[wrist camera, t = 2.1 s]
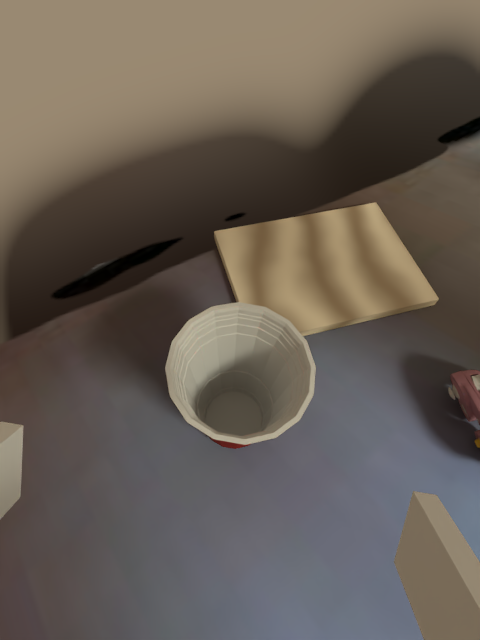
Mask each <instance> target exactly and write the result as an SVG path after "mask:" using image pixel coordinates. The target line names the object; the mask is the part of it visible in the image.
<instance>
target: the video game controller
mask: <svg viewBox="0 0 480 640" xmlns="http://www.w3.org/2000/svg"><path fill="white" fill-rule="evenodd" d="M450 378H451V381H452V385H453V387H452V390H451V388H450V387H449V389H448V392H449V395H450V397H452V398H453V399H454V400H455V396H456V397H457V398H458V400H459V403H460V406H461V408H462V411H463V413H464V415H465V417H466V418H467V420H468V421H469V422H471V421H474V420H477V421H478V423H479V425H480V371H477V370H465V371H459V372H456V373H453V374H451V375H450ZM475 436H476V439H477V440H475V444H476V446H477V447H478V448H480V430H477V431H475Z"/></svg>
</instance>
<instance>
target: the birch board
mask: <svg viewBox="0 0 480 640" xmlns="http://www.w3.org/2000/svg"><path fill="white" fill-rule="evenodd" d="M214 239H215V242H216V245H217V248H218V251H219V253H220V256H221V259H222V262H223V265H224V268H225V271H226V273H227V276H228V279H229V282H230V285H231V288H232V291H233V293H234V296H235V299H236V302H241V303H246V304H252V305H257V306H263V307H266V308H268V309H270V310H272V311H273V312H275V313H277V314H279V315H281V316H282V317H284V318H286V319H288V320H289V321H290V322H291V323H292V324H293V325H294V327H295V328H296V329H297V330H298V331H299V333H300V334H301V335H302V336H306V335H310V334H314V333H319V332H323V331H327V330H331V329H335V328H340V327H344V326H348V325H352V324H356V323H361V322H365V321H369V320H373V319H378V318H382V317H386V316H390V315H394V314H399V313H403V312H407V311H411V310H415V309H420V308H424V307H428V306H432V305H435V304H436V302H437V301H438V300H439V298H438V297H437V295H436V293H435V292H434V290H433V289H432V287H431V286H430V284H429V283H428V281H427V280H426V278H425V277H424V275H423V274H422V272H421V271H420V269H419V267H418V266H417V264H416V263H415V261H414V260H413V258H412V257H411V255H410V254H409V252H408V251H407V249H406V248H405V246H404V245H403V243H402V241H401V240H400V238H399V237H398V235H397V234H396V232H395V231H394V229H393V228H392V226H391V225H390V223H389V222H388V220H387V219H386V217H385V215H384V214H383V212H382V211H381V209H380V208H379V206H378V205H377V203H370V204H365V205H359V206H353V207H348V208H342V209H336V210H331V211H325V212H320V213H314V214H308V215H303V216H297V217H291V218H286V219H280V220H275V221H269V222H263V223H258V224H252V225H246V226H241V227H235V228H230V229H224V230H218V231H214Z"/></svg>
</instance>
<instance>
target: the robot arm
mask: <svg viewBox="0 0 480 640" xmlns="http://www.w3.org/2000/svg"><path fill="white" fill-rule="evenodd" d="M22 444H23V425H18V424H12V423H6V422H0V519H1V518H2V517H3V516H4V514H5V513H6V512H7V511H8V510H9V509H10V508H11V507H12V506H13V505H14V504H15V502H16V501H17V500H18V499H19V498H20V493H21V469H22ZM394 563H395V566H396V568H397V571H398V573H399V576H400V579H401V581H402V584H403V586H404V589H405V592H406V594H407V597H408V599H409V602H410V604H411V607H412V610H413V612H414V615H415V617H416V620H417V623H418V625H419V628H420V630H421V633H422V636H423V638H424V640H480V562H479V560H478V559H477V557H476V556H475V554H474V553H473V551H472V549H471V548H470V546H469V545H468V543H467V542H466V540H465V539H464V537H463V535H462V534H461V532H460V531H459V529H458V528H457V526H456V525H455V523H454V521H453V520H452V518H451V517H450V515H449V514H448V512H447V511H446V509H445V507H444V506H443V504H442V503H441V501H440V500H439V498H438V497H437V495H433V494H427V493H421V492H415V491H413V494H412V497H411V501H410V505H409V509H408V512H407V516H406V520H405V523H404V527H403V531H402V534H401V538H400V542H399V545H398V549H397V553H396V556H395V560H394Z"/></svg>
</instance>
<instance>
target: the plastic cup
mask: <svg viewBox="0 0 480 640" xmlns="http://www.w3.org/2000/svg"><path fill="white" fill-rule="evenodd" d="M315 370H316V366H315V364H314V361H313V358H312V355H311V352H310V349H309V346H308V343H307V341H306V340H305V338H304V337H303V336H302V335H301V334H300V333H299V331H298V330H297V329H296V328H295V327H294V325H293V324H292V323H291V322H290V321H289V320H288V319H286V318H284V317H282V316H281V315H279V314H277V313H275V312H273V311H272V310H270V309H268V308H266V307H263V306H257V305H252V304H246V303H241V302H237V303H230V304H224V305H218V306H212V307H210V308H209V309H207V310H205V311H203V312H202V313H200V314H198V315H196V316H195V317H193V318H191V319H189V320H188V321H187V323H186V324H185V325H184V327H183V328H182V329H181V330H180V332H179V333H178V334H177V335H176V337H175V338H174V339H173V341H172V343H171V347H170V351H169V355H168V359H167V362H166V366H165V371H166V376H167V382H168V388H169V394H170V397H171V399H172V400H173V402H174V403H175V405H176V406H177V408H178V409H179V411H180V412H181V414H182V415H183V417H184V418H185V420H186V421H187V422H188V423H189V424H191V425H192V426H194V427H196V428H197V429H199V430H200V431H202V432H203V433H205V434H206V435H208V436H209V437H210V439H211V440H213V441H214V442H216V443H217V444H219V445H221V446H222V447H228V448H234V449H236V448H240V447H245V446H248V445H250V444H251V443H256V442H260V441H264V440H269V439H273V438H276V437H278V436H279V435H280V434H282V433H283V432H284V431H286V430H287V429H288V428H290V427H291V426H292V425H294V424H295V423H296V422H298V421H299V420H300V419H301V417H302V415H303V413H304V411H305V410H306V408H307V406H308V404H309V402H310V400H311V399H312V397H313V395H314V383H315Z"/></svg>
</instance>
